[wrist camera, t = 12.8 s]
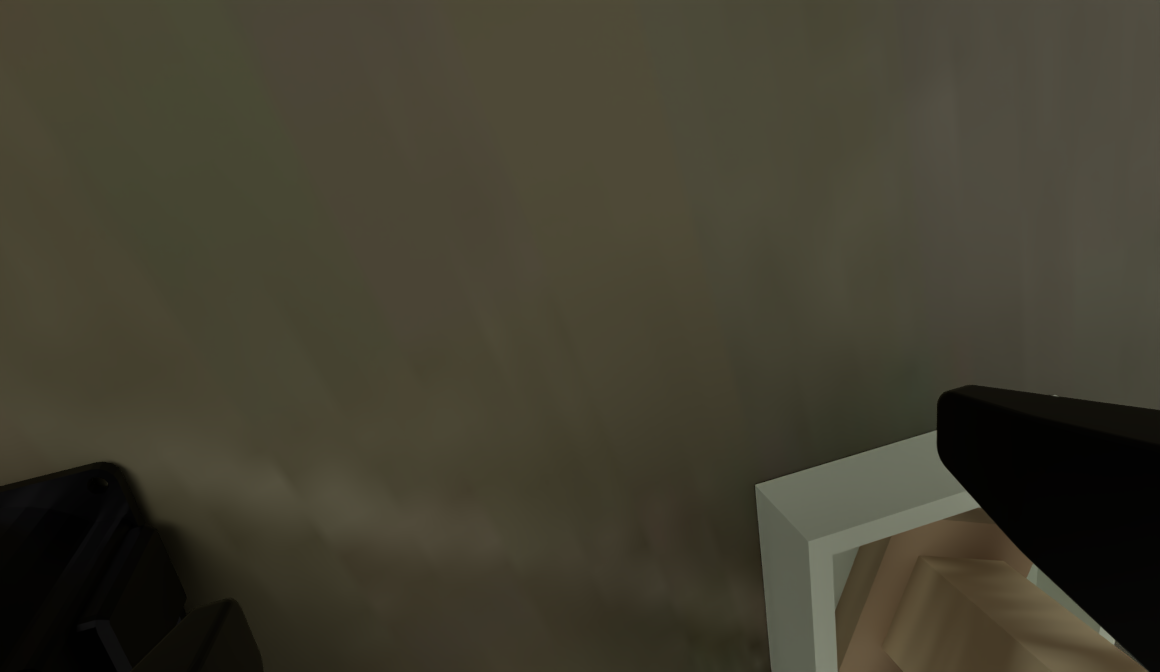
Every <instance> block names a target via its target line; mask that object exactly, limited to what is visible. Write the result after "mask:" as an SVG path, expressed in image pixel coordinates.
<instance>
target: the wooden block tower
mask: <svg viewBox="0 0 1160 672" xmlns="http://www.w3.org/2000/svg"><path fill="white" fill-rule="evenodd" d="M1032 565H1033V563H1032V562H1031V561H1030V560H1029V559H1028V558H1027V557H1026V556H1025V555H1024V554H1023V553H1022V552H1021V551H1020V550H1019V549H1018V548H1017V547H1016V546H1015V545H1014V543H1013V542H1012V541H1011V540H1010V539H1009V538H1008V537H1007V536H1006V535H1005V534H1004V533H1003V531H1002V530H1001V529H1000V528H999V527H998V526H997V525H996V524H995V522H994V521H993V520H992V519H991V518H990V517H989V516H988V515H987V513H986V512H985V511H984V510H983V509H982V508H975V509H972V510H969V511H966V512H963V513H960V514H957V515H954V516H951V517H948V518H945V519H942V520H939V521H936V522H932V523H929V524H926V525H923V526H920V527H917V528H914V529H911V530H908V531H905V532H902V533H899V534H896V535H893V536H890V537H886V538H883V539H880V540H877V541H874V542H871V543H868V544H865V545H862V546H860V547H859V549H858V552H857V555H856V557H855V560H854V563H853V565H852V568H851V571H850V573H849V576H848V578H847V581H846V584H845V586H844V589H843V592H842V594H841V597H840V599H839V602H838V605H837V607H836V610H835V624H836V646H837V668H838V672H1149V671H1147V670H1146V669H1145V668H1143V667H1142V666H1141V665H1139V664H1138V663H1137V662H1135V661H1134V660H1133V659H1131V658H1130V657H1129V656H1128V655H1126V654H1125V653H1124V652H1122V651H1121V650H1120V649H1118V648H1117V647H1116V646H1114V645H1113V644H1112V643H1110V642H1109V641H1108V640H1107V639H1105V638H1104V637H1103V636H1101V635H1100V634H1099V633H1097V632H1096V631H1095V630H1093V629H1092V628H1091V627H1089V626H1088V625H1087V624H1086V623H1084V622H1083V621H1082V620H1080V619H1079V618H1078V617H1076V616H1075V615H1074V614H1072V613H1071V612H1070V611H1068V610H1067V609H1066V608H1065V607H1063V606H1062V605H1061V604H1059V603H1058V602H1057V601H1055V600H1054V599H1053V598H1051V597H1050V596H1049V595H1047V594H1046V593H1045V592H1044V591H1042V590H1041V589H1040V588H1038V587H1037V586H1036V585H1034V584H1033V583H1032V582H1030V581H1029V580H1028V579H1027V576H1028V574H1029V571H1030V569H1031V567H1032Z"/></svg>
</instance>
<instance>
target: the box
mask: <svg viewBox="0 0 1160 672" xmlns="http://www.w3.org/2000/svg"><path fill="white" fill-rule="evenodd" d="M1052 396H1057V395H1052ZM936 443H937V430H936V431H932V432H929V433H926V434H922V435H919V436H916V437H912V438H909V439H906V440H902V441H899V442H896V443H892V444H889V445H886V446H882V447H879V448H876V449H872V450H869V451H866V452H862V453H859V454H856V455H852V456H849V457H846V458H842V459H839V460H836V461H832V462H829V463H826V464H822V465H819V466H816V467H812V468H809V469H806V470H802V471H799V472H796V473H793V474H789V475H786V476H783V477H779V478H776V479H773V480H769V481H766V482H763V483H759V484H756V485H755V492H756V503H757V515H758V526H759V537H760V549H761V560H762V571H763V583H764V594H765V605H766V617H767V628H768V639H769V651H770V662H771V672H838V668H837V646H836V624H835V610H836V607H837V605H838V602H839V599H840V597H841V594H842V592H843V589H844V586H845V584H846V581H847V578H848V576H849V573H850V571H851V568H852V565H853V563H854V560H855V557H856V555H857V552H858V549H859V547H860V546H862V545H865V544H868V543H871V542H874V541H877V540H880V539H883V538H886V537H890V536H893V535H896V534H899V533H902V532H905V531H908V530H911V529H914V528H917V527H920V526H923V525H926V524H929V523H932V522H936V521H939V520H942V519H945V518H948V517H951V516H954V515H957V514H960V513H963V512H966V511H969V510H972V509H975V508H981V507H980V506H979V504H978V503H977V502H976V501H975V500H974V499H973V498H972V497H971V495H970V494H969V493H968V492H967V491H966V490H965V489H964V488H963V486H962V485H961V484H960V483H959V482H958V481H957V480H956V479H955V477H954V476H953V475H952V474H951V473H950V472H949V471H948V470H947V468H946V467H945V466H944V465H943V463H942V461H941V460H940V458H939V455H938V452H937V445H936ZM1027 579H1028V580H1029V581H1030V582H1032V583H1033V584H1034V585H1036V586H1037V587H1038V588H1040V589H1041V590H1042V591H1044V592H1045V593H1046V594H1047V595H1049V596H1050V597H1051V598H1053V599H1054V600H1055V601H1057V602H1058V603H1059V604H1061V605H1062V606H1063V607H1065V608H1066V609H1067V610H1068V611H1070V612H1071V613H1072V614H1074V615H1075V616H1076V617H1078V618H1079V619H1080V620H1082V621H1083V622H1084V623H1086V624H1087V625H1088V626H1089V627H1091V628H1092V629H1093V630H1095V631H1096V632H1097V633H1099V634H1100V635H1101V636H1103V637H1104V638H1105V639H1107V640H1108V641H1109V642H1110V643H1112V644H1113V645H1114V644H1115V640H1114V639H1113V638H1112V637H1111V636H1110V635H1109V634H1108V633H1107V632H1106V631H1105V630H1104V629H1103V628H1102V627H1100V626H1099V625H1098V624H1097V623H1096V622H1095V621H1094V620H1093V619H1092V618H1091V617H1090V616H1089V615H1088V614H1087V613H1086V612H1084V611H1083V610H1082V609H1081V608H1080V607H1079V606H1078V605H1077V604H1076V603H1075V602H1074V601H1073V600H1072V599H1071V598H1069V597H1068V596H1067V595H1066V594H1065V593H1064V592H1063V591H1062V590H1061V589H1060V588H1059V587H1058V586H1057V585H1056V584H1055V583H1053V582H1052V581H1051V580H1050V579H1049V578H1048V577H1047V576H1046V575H1045V574H1044V573H1043V572H1042V571H1041V570H1040V569H1039V568H1037V567H1036V566H1035V565H1034V564H1033V565H1032V567H1031V569H1030V571H1029V574H1028V576H1027Z"/></svg>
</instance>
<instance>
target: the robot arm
mask: <svg viewBox="0 0 1160 672" xmlns="http://www.w3.org/2000/svg"><path fill="white" fill-rule="evenodd" d="M936 445H937V452H938V455H939V458H940V460H941V461H942V463H943V465H944V466H945V467H946V468H947V470H948V471H949V472H950V473H951V474H952V475H953V476H954V477H955V479H956V480H957V481H958V482H959V483H960V484H961V485H962V486H963V488H964V489H965V490H966V491H967V492H968V493H969V494H970V495H971V497H972V498H973V499H974V500H975V501H976V502H977V503H978V504H979V506H980V507H981V508H982V509H983V510H984V511H985V512H986V513H987V515H988V516H989V517H990V518H991V519H992V520H993V521H994V522H995V524H996V525H997V526H998V527H999V528H1000V529H1001V530H1002V531H1003V533H1004V534H1005V535H1006V536H1007V537H1008V538H1009V539H1010V540H1011V541H1012V542H1013V543H1014V545H1015V546H1016V547H1017V548H1018V549H1019V550H1020V551H1021V552H1022V553H1023V554H1024V555H1025V556H1026V557H1027V558H1028V559H1029V560H1030V561H1031V562H1032V563H1033V564H1034V565H1035V566H1036V567H1037V568H1039V569H1040V570H1041V571H1042V572H1043V573H1044V574H1045V575H1046V576H1047V577H1048V578H1049V579H1050V580H1051V581H1052V582H1053V583H1055V584H1056V585H1057V586H1058V587H1059V588H1060V589H1061V590H1062V591H1063V592H1064V593H1065V594H1066V595H1067V596H1068V597H1069V598H1071V599H1072V600H1073V601H1074V602H1075V603H1076V604H1077V605H1078V606H1079V607H1080V608H1081V609H1082V610H1083V611H1084V612H1086V613H1087V614H1088V615H1089V616H1090V617H1091V618H1092V619H1093V620H1094V621H1095V622H1096V623H1097V624H1098V625H1099V626H1100V627H1102V628H1103V629H1104V630H1105V631H1106V632H1107V633H1108V634H1109V635H1110V636H1111V637H1112V638H1113V639H1114V640H1115V641H1116V642H1118V643H1119V644H1120V645H1121V646H1122V647H1123V648H1124V649H1125V650H1126V651H1127V652H1128V653H1129V654H1130V655H1131V656H1133V657H1134V658H1135V659H1136V660H1137V661H1138V662H1139V663H1140V664H1141V665H1142V666H1143V667H1144V668H1145V669H1146V670H1147V671H1149V672H1160V410H1155V409H1147V408H1140V407H1132V406H1125V405H1118V404H1110V403H1103V402H1095V401H1088V400H1081V399H1073V398H1066V397H1059V396H1051V395H1044V394H1036V393H1029V392H1022V391H1014V390H1007V389H999V388H992V387H985V386H977V385H967V386H963V387H959V388H956V389H952V390H949V391H946V392H944V393H943V394H942V395H941V396H940V397H939V399H938V403H937V443H936ZM94 477H100V478H103V479H105V480H106V481H107V482H108V486H107V487H100V486H98V485H96V484H95V483H94V482H93V481H92V478H94ZM185 601H186V594H185V592H184V590H183V588H182V585H181V583H180V581H179V579H178V576H177V574H176V572H175V570H174V567H173V565H172V563H171V561H170V559H169V556H168V554H167V552H166V550H165V547H164V545H163V543H162V541H161V538H160V536H159V534H158V532H157V530H156V529H155V528H153V527H151V526H150V525H148V524H145V522H144V520H143V518H142V515H141V513H140V511H139V509H138V507H137V504H136V502H135V500H134V498H133V495H132V493H131V491H130V489H129V487H128V484H127V482H126V480H125V478H124V475H123V473H122V472H121V471H120V469H119V468H118V467H116V466H115V465H113V464H111V463H106V462H96V463H92V464H88V465H84V466H80V467H76V468H72V469H68V470H64V471H60V472H56V473H52V474H48V475H44V476H40V477H36V478H32V479H28V480H24V481H20V482H16V483H12V484H8V485H4V486H0V672H263V664H262V659H261V655H260V652H259V649H258V647H257V644H256V642H255V640H254V637H253V635H252V632H251V630H250V627H249V625H248V623H247V620H246V618H245V615H244V613H243V611H242V608H241V606H240V605H239V603H238V602H237V601H236V600H234V599H232V598H227V599H223V600H220V601H216V602H213V603H209V604H206V605H202V606H199V607H197V608H195V609H193V610H192V611H191V612H190V613H189V614H188V615H186V613H185V611H184V608H183V606H184V603H185Z"/></svg>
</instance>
